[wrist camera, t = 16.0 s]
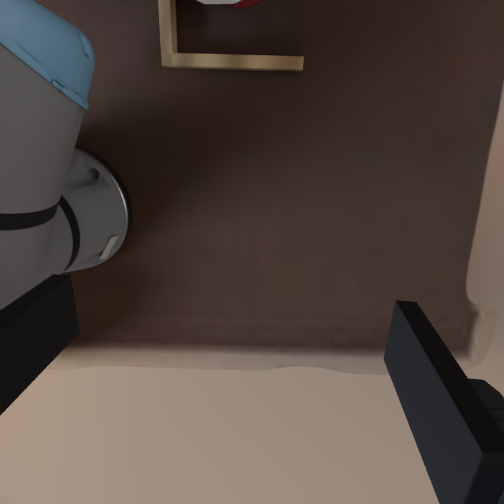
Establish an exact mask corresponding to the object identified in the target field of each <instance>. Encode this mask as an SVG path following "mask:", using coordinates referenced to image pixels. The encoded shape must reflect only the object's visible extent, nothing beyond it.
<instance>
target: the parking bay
mask: <svg viewBox="0 0 504 504" xmlns="http://www.w3.org/2000/svg"><path fill="white" fill-rule="evenodd" d="M158 4H159V24H160V44H161V63H162V66H164V67H167V68H191V69H224V70H257V71H291V72H302V70H303V61H304V57H303V56H276V55H238V54H201V53H177V26H176V0H158Z"/></svg>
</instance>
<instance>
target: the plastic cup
mask: <svg viewBox="0 0 504 504" xmlns="http://www.w3.org/2000/svg"><path fill="white" fill-rule="evenodd" d="M197 1H199V2H201V3H203V4H227V5H229V6H233V7H235V8H249V7H251V6H253V5H255V4H257V3H259V2H260V1H261V0H197Z"/></svg>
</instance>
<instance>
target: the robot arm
mask: <svg viewBox="0 0 504 504" xmlns="http://www.w3.org/2000/svg"><path fill="white" fill-rule="evenodd" d="M94 65H95V56H94V51H93V48H92V46H91V44H90V42H89V40H88V39H87V37H86V36H85V35H84V34H83V33H82V32H81V31H80V30H79V29H78V28H76V27H75V26H73V25H72V24H70V23H69V22H67V21H66V20H64V19H62V18H61V17H59V16H58V15H56V14H54V13H53V12H51V11H50V10H48V9H46V8H45V7H43V6H42V5H40V4H39V3H37V2H35V1H34V0H0V415H1V414H2V413H3V412H4V411H5V410H6V409H7V408H8V407H9V406H10V405H11V403H13V402H14V401H15V399H17V398H18V396H19V395H20V394H21V393H22V392H23V391H24V390H25V389H26V388H27V387H28V386H29V385H30V384H31V383H32V382H33V381H34V380H35V379H36V377H38V375H39V374H40V373H41V372H42V371H43V370H44V369H45V368H46V367H47V366H48V365H49V364H50V363H51V362H52V361H53V360H54V359H55V358H56V357H57V356H58V355H59V354H60V352H61V351H62V350H63V349H64V348H65V347H66V346H67V345H68V344H69V343H70V342H71V341H72V340H73V339H74V338H75V337H76V336H77V335H78V334H79V333H80V328H79V322H78V316H77V310H76V304H75V298H74V292H73V286H72V280H71V275H60V274H62V273H65V272H70V271H75V270H81V269H86V268H90V267H93V266H96V265H99V264H101V263H103V262H105V261H106V260H108V259H109V258H110V257H112V256H113V255H114V254H115V253H116V252H118V251H119V250H120V248H121V247H122V246H123V244H124V243H125V241H126V239H127V237H128V235H129V232H130V228H131V223H132V210H131V204H130V199H129V196H128V193H127V191H126V189H125V186H124V185H123V183H122V181H121V179H120V178H119V176H118V175H117V174H116V172H115V171H114V170H113V169H112V168H111V167H110V165H109V164H107V163H106V162H105V161H104V160H103V159H102V158H100V157H99V156H97V155H96V154H94V153H93V152H91V151H89V150H87V149H85V148H82V147H79V146H76V145H75V144H76V141H77V137H78V134H79V130H80V127H81V123H82V120H83V116H84V113H85V110H88V107H89V103H88V101H87V99H88V93H89V88H90V84H91V79H92V74H93V70H94ZM384 361H385V364H386V366H387V369H388V372H389V374H390V377H391V379H392V382H393V384H394V387H395V389H396V392H397V395H398V397H399V400H400V403H401V405H402V408H403V410H404V413H405V415H406V418H407V421H408V423H409V426H410V428H411V431H412V434H413V436H414V439H415V441H416V444H417V447H418V449H419V452H420V454H421V456H422V460H423V462H424V465H425V467H426V470H427V472H428V475H429V477H430V480H431V483H432V485H433V488H434V491H435V493H436V496H437V498H438V500H439V503H440V504H504V397H503V396H502V395H501V394H500V392H498V391H497V390H496V389H495V388H493V387H492V386H491V385H490V384H488V383H487V382H486V381H484V380H478V379H468V378H467V376H466V375H465V373H464V372H463V370H462V369H461V367H460V366H459V364H458V363H457V361H456V360H455V358H454V357H453V356H452V354H451V353H450V351H449V350H448V348H447V347H446V345H445V344H444V342H443V341H442V339H441V338H440V336H439V335H438V333H437V332H436V330H435V329H434V327H433V326H432V324H431V323H430V322H429V320H428V319H427V317H426V316H425V314H424V313H423V311H422V310H421V308H420V307H419V305H418V304H417V302H410V301H397V300H396V302H395V307H394V312H393V316H392V321H391V326H390V331H389V336H388V340H387V345H386V350H385V355H384Z"/></svg>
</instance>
